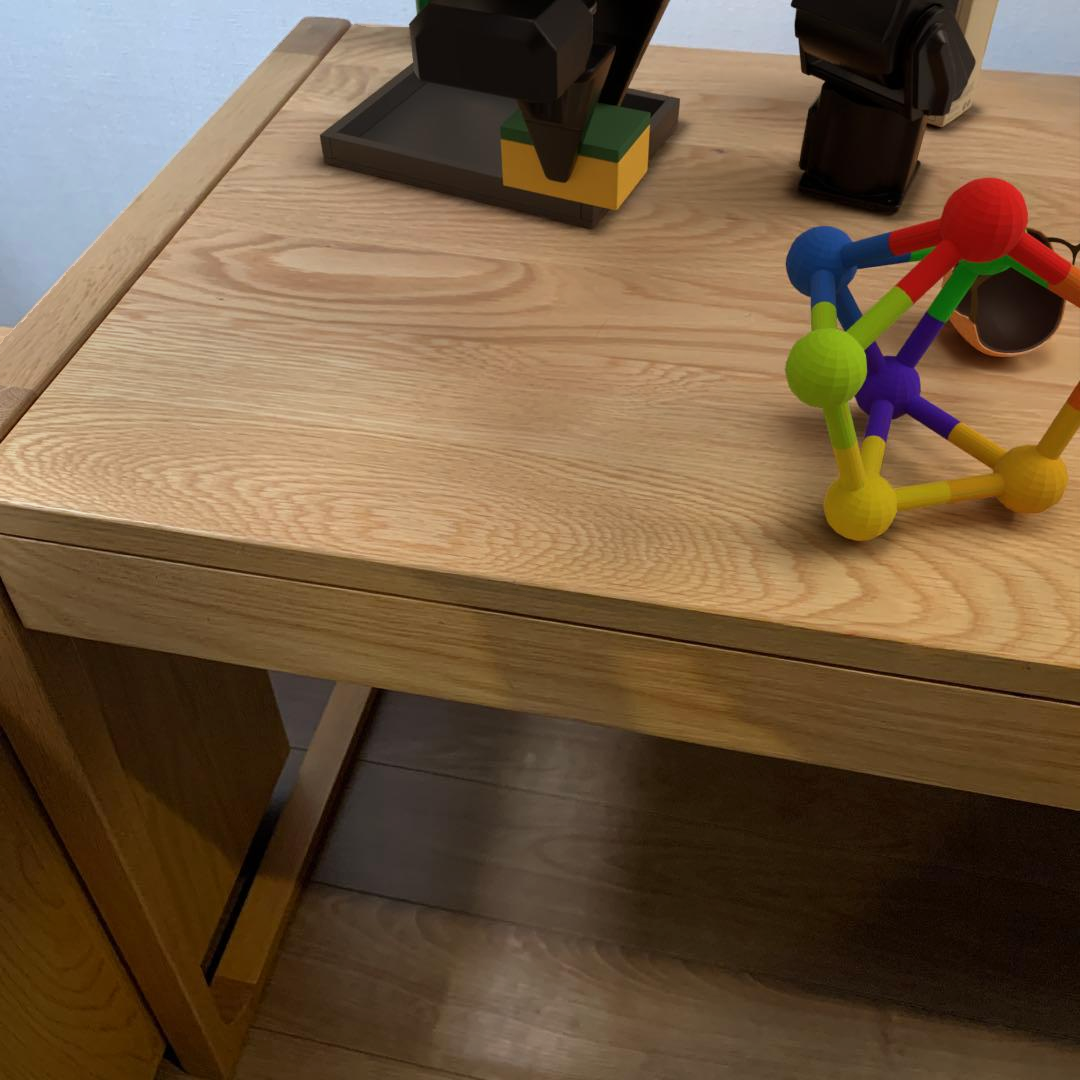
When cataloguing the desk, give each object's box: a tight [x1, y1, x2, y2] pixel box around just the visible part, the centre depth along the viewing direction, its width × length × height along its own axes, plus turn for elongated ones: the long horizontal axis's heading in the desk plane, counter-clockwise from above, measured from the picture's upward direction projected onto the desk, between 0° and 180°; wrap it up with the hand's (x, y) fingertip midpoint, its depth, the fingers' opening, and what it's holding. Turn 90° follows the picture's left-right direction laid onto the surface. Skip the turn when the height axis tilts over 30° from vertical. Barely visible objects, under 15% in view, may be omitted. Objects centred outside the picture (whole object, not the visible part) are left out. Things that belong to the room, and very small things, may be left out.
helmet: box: [941, 226, 1080, 358], centre depth 54 cm, size 6×7×8 cm
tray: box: [319, 62, 681, 230], centre depth 72 cm, size 20×15×2 cm
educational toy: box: [784, 177, 1080, 542], centre depth 45 cm, size 16×13×15 cm
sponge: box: [500, 102, 650, 211], centre depth 51 cm, size 4×6×3 cm, turn 65°
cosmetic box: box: [927, 0, 1000, 128], centre depth 71 cm, size 6×4×12 cm
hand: (576, 158), depth 52 cm, fingers closed on sponge, 4 cm apart
